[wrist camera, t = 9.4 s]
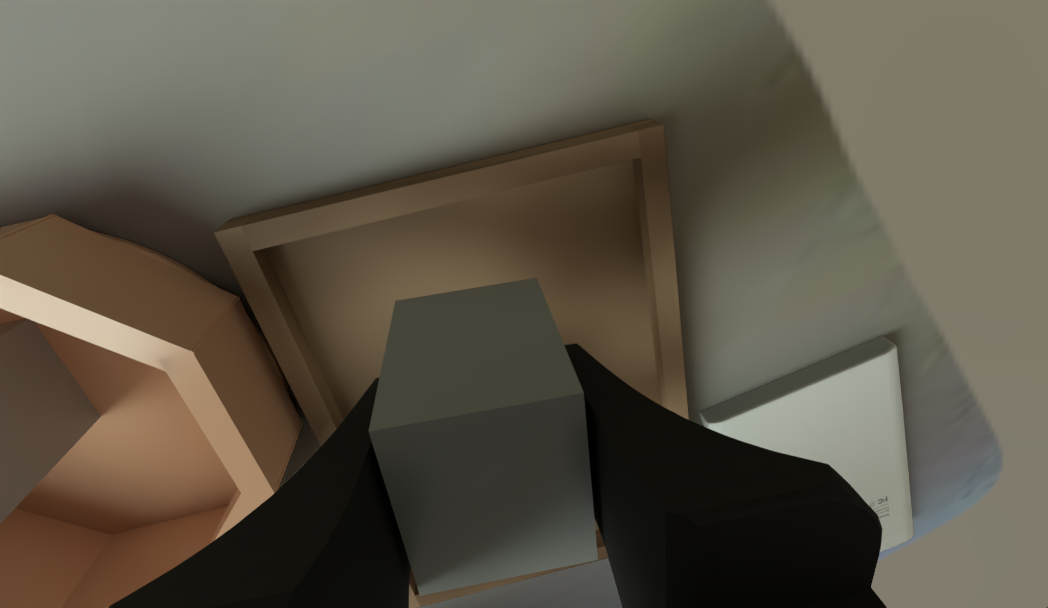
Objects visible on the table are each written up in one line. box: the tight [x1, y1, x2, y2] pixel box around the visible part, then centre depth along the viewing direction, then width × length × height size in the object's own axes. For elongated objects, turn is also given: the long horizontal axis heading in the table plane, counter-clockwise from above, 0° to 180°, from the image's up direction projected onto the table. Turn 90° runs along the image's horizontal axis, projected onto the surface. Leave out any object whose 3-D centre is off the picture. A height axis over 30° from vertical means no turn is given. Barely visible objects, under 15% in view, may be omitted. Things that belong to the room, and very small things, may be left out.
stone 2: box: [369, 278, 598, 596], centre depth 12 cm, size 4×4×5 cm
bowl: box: [0, 214, 303, 608], centre depth 17 cm, size 13×13×4 cm
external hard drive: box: [699, 336, 914, 552], centre depth 25 cm, size 2×8×12 cm
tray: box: [214, 120, 689, 608], centre depth 20 cm, size 18×14×1 cm
